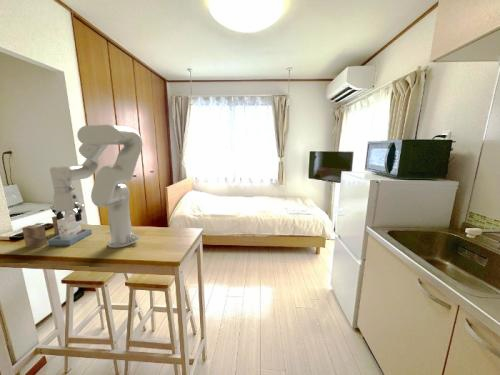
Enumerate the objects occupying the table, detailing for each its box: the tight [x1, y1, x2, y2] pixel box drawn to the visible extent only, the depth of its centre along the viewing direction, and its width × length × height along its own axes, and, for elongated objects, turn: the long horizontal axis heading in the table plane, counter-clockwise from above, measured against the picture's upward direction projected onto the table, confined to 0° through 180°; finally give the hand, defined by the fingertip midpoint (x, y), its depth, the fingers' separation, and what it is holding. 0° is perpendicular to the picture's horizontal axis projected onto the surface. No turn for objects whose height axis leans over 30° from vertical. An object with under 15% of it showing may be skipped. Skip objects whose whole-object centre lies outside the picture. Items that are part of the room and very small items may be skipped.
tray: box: [47, 228, 93, 247], centre depth 114 cm, size 11×15×3 cm
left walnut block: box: [22, 225, 48, 248], centre depth 107 cm, size 8×3×10 cm, turn 90°
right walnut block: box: [51, 215, 64, 235], centre depth 122 cm, size 8×3×10 cm, turn 90°
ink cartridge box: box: [57, 211, 82, 239], centre depth 113 cm, size 9×5×15 cm, turn 176°
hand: (69, 221), depth 112 cm, fingers open, 9 cm apart
